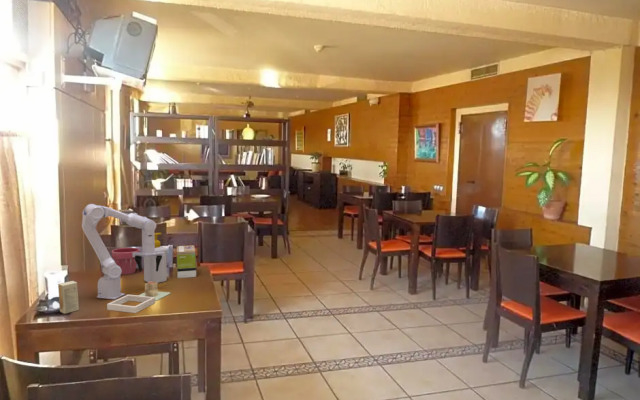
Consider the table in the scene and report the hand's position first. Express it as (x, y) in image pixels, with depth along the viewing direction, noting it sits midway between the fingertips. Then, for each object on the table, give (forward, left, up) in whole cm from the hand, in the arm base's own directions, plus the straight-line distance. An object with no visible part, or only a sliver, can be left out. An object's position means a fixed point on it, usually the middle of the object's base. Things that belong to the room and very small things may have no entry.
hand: (149, 271), depth 228 cm
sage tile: (+7, -8, -9) cm, 14 cm away
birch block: (+7, -9, -9) cm, 14 cm away
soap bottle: (-6, +14, -10) cm, 18 cm away
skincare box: (-14, -36, -10) cm, 40 cm away
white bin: (+7, -23, -9) cm, 26 cm away
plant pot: (-31, +24, -10) cm, 40 cm away
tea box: (+2, +31, -10) cm, 33 cm away
